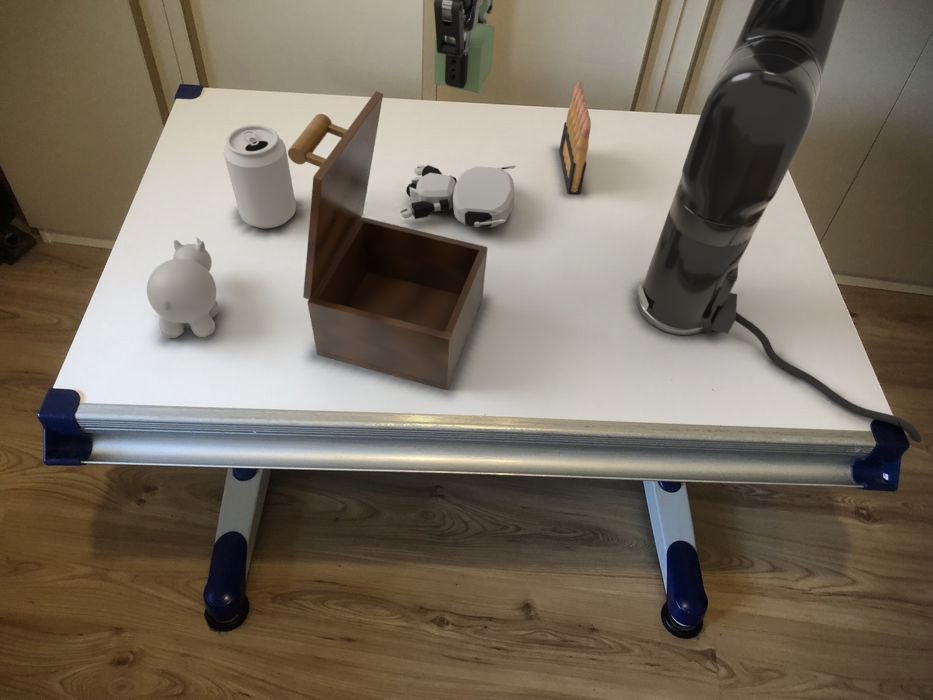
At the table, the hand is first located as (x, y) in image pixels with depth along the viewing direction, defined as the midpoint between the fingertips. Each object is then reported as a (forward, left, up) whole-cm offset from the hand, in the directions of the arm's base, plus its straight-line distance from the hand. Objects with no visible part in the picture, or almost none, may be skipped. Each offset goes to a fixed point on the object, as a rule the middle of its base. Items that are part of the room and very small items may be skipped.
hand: (463, 71), depth 75 cm
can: (+25, +5, -23) cm, 35 cm away
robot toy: (+1, -5, -23) cm, 24 cm away
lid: (+7, +18, -6) cm, 20 cm away
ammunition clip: (-12, -19, -23) cm, 33 cm away
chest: (+1, +18, -23) cm, 29 cm away
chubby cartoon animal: (+25, +23, -23) cm, 41 cm away
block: (0, 0, -1) cm, 1 cm away
